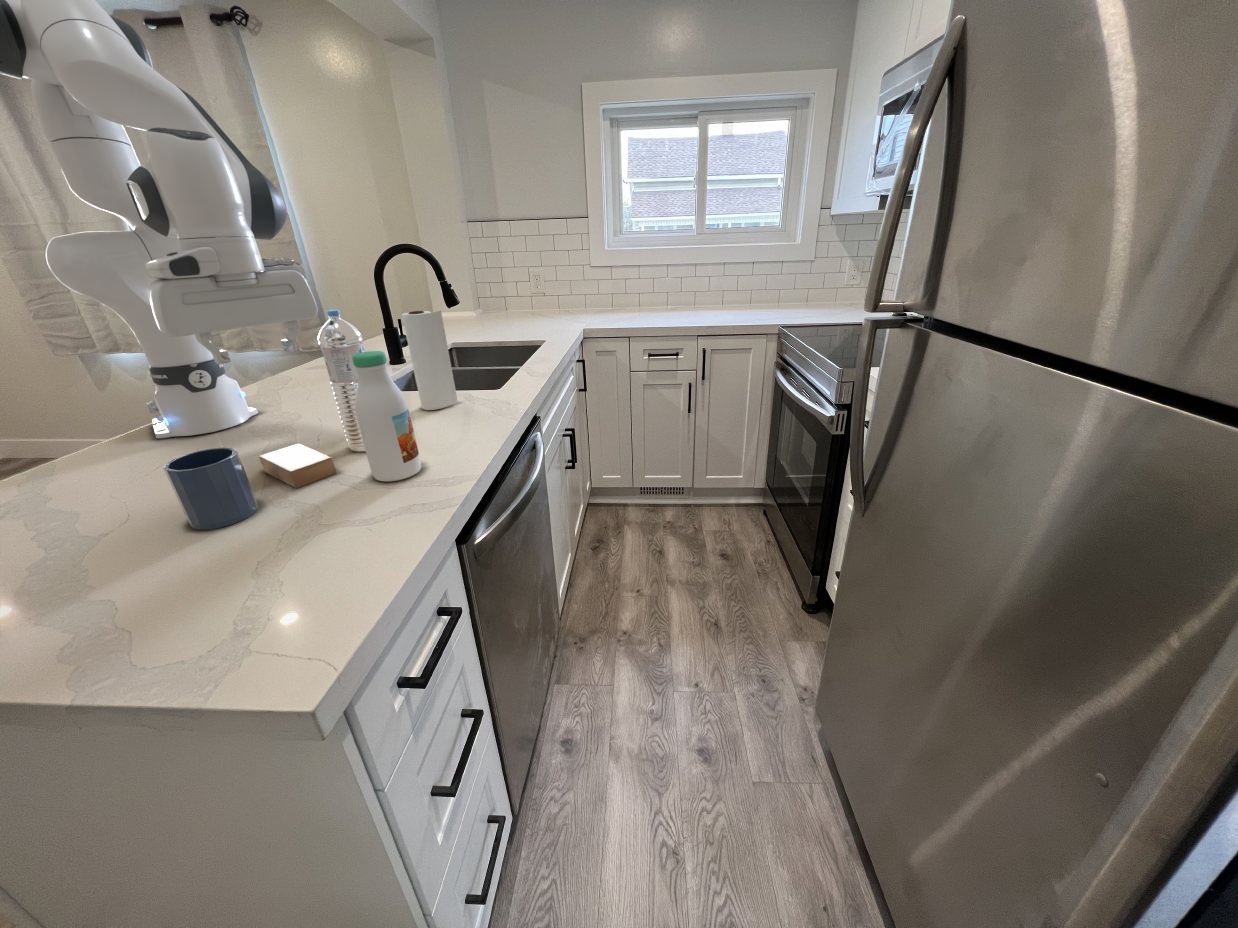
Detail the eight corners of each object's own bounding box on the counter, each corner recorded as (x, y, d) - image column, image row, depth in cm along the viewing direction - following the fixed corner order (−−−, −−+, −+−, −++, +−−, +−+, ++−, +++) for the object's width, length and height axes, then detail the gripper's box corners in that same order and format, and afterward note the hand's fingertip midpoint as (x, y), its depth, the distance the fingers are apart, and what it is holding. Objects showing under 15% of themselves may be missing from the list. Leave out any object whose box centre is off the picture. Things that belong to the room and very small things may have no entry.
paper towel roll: (416, 410, 114) (395, 314, 105) (430, 402, 119) (410, 310, 110) (445, 411, 112) (426, 313, 103) (458, 403, 118) (441, 309, 109)
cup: (182, 519, 71) (155, 462, 68) (245, 496, 77) (223, 443, 73) (202, 536, 67) (175, 476, 63) (267, 510, 73) (245, 454, 69)
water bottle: (373, 453, 91) (335, 313, 81) (341, 452, 92) (300, 313, 82) (395, 439, 97) (363, 307, 87) (365, 438, 99) (329, 307, 88)
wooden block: (264, 471, 86) (258, 455, 84) (303, 458, 90) (298, 443, 89) (296, 488, 79) (290, 471, 78) (336, 473, 84) (331, 457, 83)
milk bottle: (392, 486, 78) (359, 361, 70) (363, 476, 82) (328, 356, 74) (431, 468, 84) (406, 350, 76) (403, 459, 88) (375, 346, 80)
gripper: (292, 257, 81) (317, 343, 86) (128, 266, 66) (172, 369, 72) (310, 256, 77) (335, 345, 83) (142, 265, 62) (187, 373, 68)
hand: (258, 356), depth 77 cm, fingers open, 8 cm apart
